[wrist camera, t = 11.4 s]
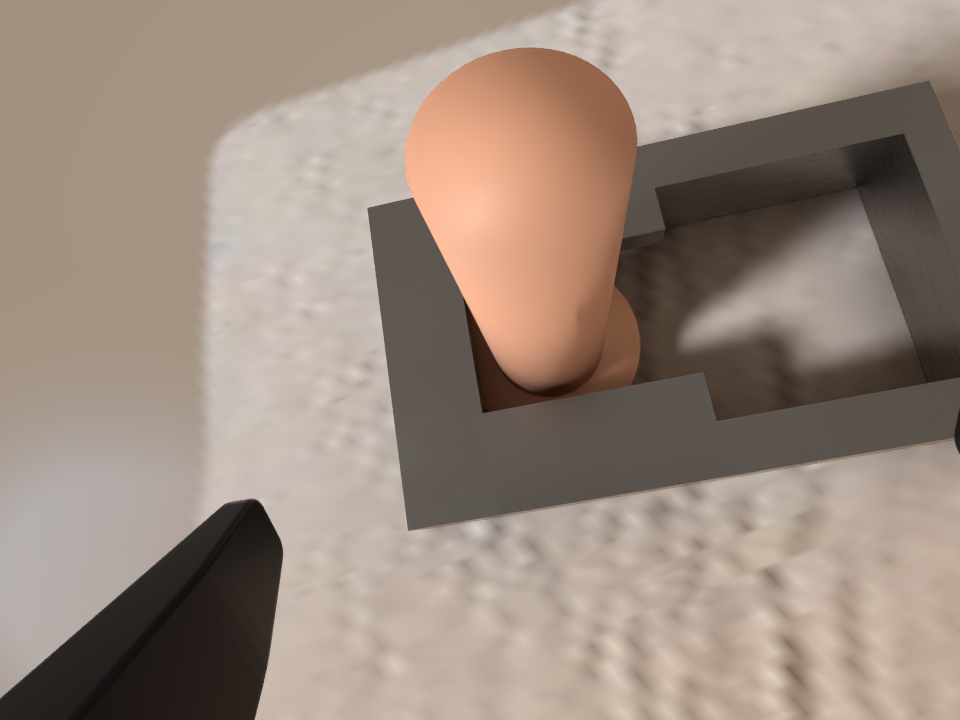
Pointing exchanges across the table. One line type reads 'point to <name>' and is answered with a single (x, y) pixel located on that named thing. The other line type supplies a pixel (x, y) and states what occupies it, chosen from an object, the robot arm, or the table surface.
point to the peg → (532, 218)
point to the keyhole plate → (685, 399)
